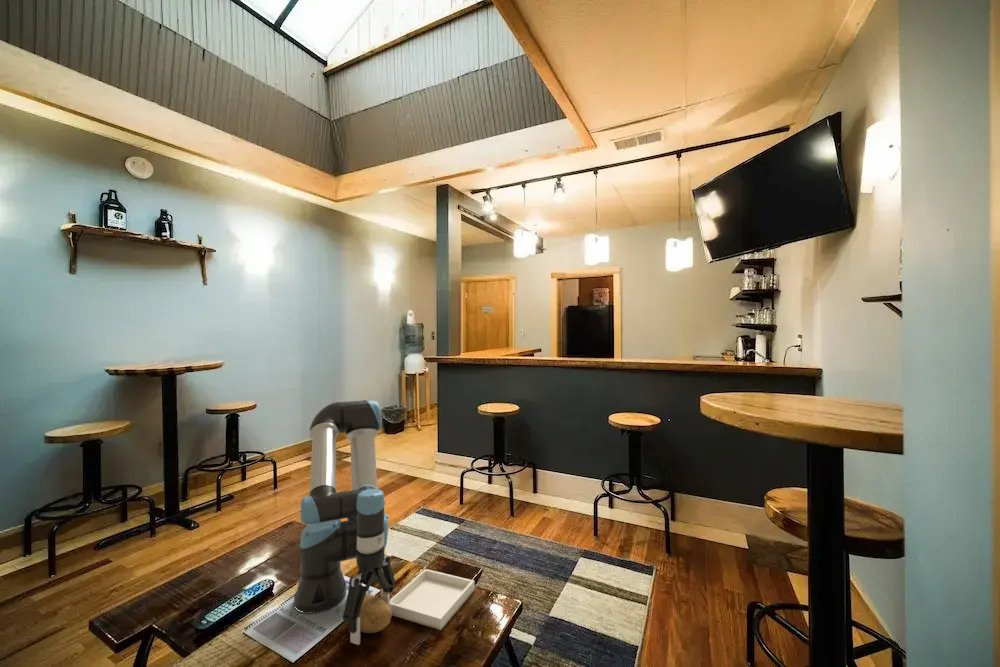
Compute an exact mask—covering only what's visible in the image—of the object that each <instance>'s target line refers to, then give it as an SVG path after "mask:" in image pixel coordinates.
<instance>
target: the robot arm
mask: <svg viewBox="0 0 1000 667" xmlns="http://www.w3.org/2000/svg"><path fill="white" fill-rule="evenodd" d="M382 416H383V415H382V410H381V407H380V404H379V403H378V401H377V400H373V399H372V400H371V399H369V400H368V399H364V400H351V401H337V402H332V403H329V404H327V405H326V406H324V407H323V408H321V410H320V411H318V413H317V414H316V415H315V416H314V418H313V420H312V421H311V424H310V426H309V438H310V439H311V458H310V473H309V474H310V477H309V494H308V496H305V497H302V498H301V501H300V522H301V524H302V525H306V526H305V527H304V528H303V530H302V531H301V534H300V543H299V548H300V568H299V569H300V572H299V573H300V578H299V582H298V585H297V588H296V591H295V593H294V596H293V607H294V606H295V607H296V608H297V609H298V610H300V611H303V612H306V613H305V614H308V613H307V612H312V613H311V614H314V613H313V612H315V613H319V612H320V613H321V612H323V611H326V610H329V609H331V608H333V607H335V606H336V605H338V604H339V603H341V602H342V600H344V599H345V597H346V599H345V600H346V601H345V605H344V610H343V614H342V620H343V621H345V622H347V623H348V632H349V633H350V634H349V635H350V638H349V639H350V641H349V642H350V644H351V643H352V644H354V645H357V646H359V645H360V644H361V632H360V617H358V615H359V612H360V609H361V607H362V604H363V601H364V598H365V595H366V593H367V591H369V590H370V587H371V585H372V584H373V583H374V582H376V583H378V586H379V587H380V588H381V589H382V591H380V598H381V599H382V600H384V601H385V602H386V603H387V604H388V605H389V606H390V599H391V593H393V592H394V587H395V585H396V580H395V579H396V578H395V575H394V573H393V569H392V568H393V567H392V566H391V557H390V556H387V555H385V552H386V551H385V550H386V546H387V542H388V535H389V514H388V513H385V505H386V502H385V493H384V491H383V490H382V489H378V479H377V459H376V458H377V457H376V441H375V440H376V439H375V438H376V437H377V436H378V435H379V431H380V430H382V428H383V420H382ZM339 434H345V438H346V439H347V440H348V441H350V472H351V473H350V475H351V490H346V491H339V492H337V445H336V444H337V438H338V437H339ZM344 519H347V520H344ZM342 520H343V521H342ZM353 559H356V565H357V567H358V573H357V575H356V576H355V577H353V576H351V577H350V578H349V580H348V591H347V582H346V581H345V578H344V575H343V571H342V569H341V562H344V561H349V560H353ZM346 595H347V596H346ZM354 613H355V614H354Z"/></svg>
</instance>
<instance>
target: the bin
mask: <svg viewBox="0 0 1000 667" xmlns="http://www.w3.org/2000/svg"><path fill="white" fill-rule="evenodd" d="M475 588H476V587H475V580H473V579H469V578H465V577H461V576H456V575H454V574H448V573H445V572H441V571H436V570H433V569H428V568H424V569H423V570H422V572H420V573H419V574H417V576H415V577H414V578H413V579H412V580H410V582H408V583H407V584H406V585H405V586H404V587H402V589H400V590H399V591H398V592H397V593H396V594H395V595H394V596H392V597H390V608H391V611H392V613H391V616H394V617H396V618H400V619H404V620H407V621H409V622H414V623H416V624H419V625H423V626H426V627H429V628H433V629H436V630H438V631H442V630H443V628H444V627H445V626H446V625H447V624H448V622H449V621H450V620H452V618H453V617H454V615H455V614H456V613H457V612H458V611H459V610H460V608H461V607H462V606H463V605H464V604H465V602H466V601H467V600H468V599H469V598H470V596H471V595H472V594H473V592H475Z"/></svg>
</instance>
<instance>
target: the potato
mask: <svg viewBox="0 0 1000 667" xmlns="http://www.w3.org/2000/svg"><path fill="white" fill-rule="evenodd" d="M391 613H392V611H391V608H390V606H389V605H388V604H387V603H386V602H385V601H384V600H382V599H381V597H378V596H377V595H373V594H370V593H367V592H366V595H365V598H364V601H363V604H362V607H361V609H360V612H359V615H358V617H360V633H364V634H374V633H378V632H381V631H383V630H384V629H385V628H386V627H387V626H388V625H389V624H390V623H391V619H392V615H391ZM354 614H355V613H354Z"/></svg>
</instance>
